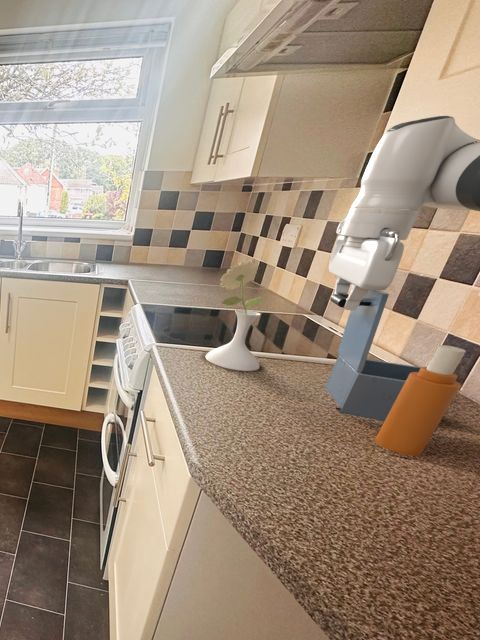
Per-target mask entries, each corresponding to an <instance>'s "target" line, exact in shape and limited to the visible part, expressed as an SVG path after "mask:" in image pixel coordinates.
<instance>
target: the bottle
mask: <svg viewBox="0 0 480 640" xmlns="http://www.w3.org/2000/svg"><path fill="white" fill-rule="evenodd" d="M465 353H466V350H465V349H463V348H460V347H457V346H452V345H444V344H441V345H438V346H437V348H436V350H435V352H434V354H433V355H432V357H431V359H430V361H429V363H428V365H427V366H420V367H421V368H420V370H419V372H411V373H410V374H409V376H408V378H407V380H406V382H405V384H404V386H403V387H402V389H401V391H400V393H399V395H398V397H397V399H396V401H395V403H394V405H393V406H392V408H391V410H390V412H389V414H388V416H387V418H386V420H385V421H383V424H382V425H381V426H380V429H379V431H378V433H377V435H376V437H375V439H374V441H375V442H376V443H377V444H378V445H379V446H381V447H382V448H385V449H387V450H389V451H391V452H394V453H397V454H401V455H405V456H410V457H411V456H412V457H419V456H421V455H422V453H423V452H424V450H425V448H426V446H427V445H428V443H429V441H430V440H431V438H432V436H433V434H434V433H435V431H436V430H437V428H438V426H439V425H440V423H441V421H442V419H443V417H444V416H445V414H446V413H447V411H448V409H449V407H450V406H451V404H452V402H453V400H454V399H455V397H456V396H457V394H458V392H459V391H460V389H461V387H462V383H461V382H459V381H457V379H458V376H459V375H458V374H457V373H454V372H455V371H456V370H457V367H458V366H459V364H460V362H461V361H462V358H463V357H464V355H465ZM392 456H393V457H396V458H399V459H405V460H409V458H408V457H404V456H399V455H394V454H392ZM410 460H411V461H412V460H414V459H413V458H410Z"/></svg>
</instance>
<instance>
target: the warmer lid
mask: <svg viewBox="0 0 480 640" xmlns="http://www.w3.org/2000/svg"><path fill="white" fill-rule="evenodd" d="M389 296H390V294H389V293H388V292H385V291H384V290H372V289H370V290H369V292H368V294H367V295H366V296H365V297H364V298H363V299H362V301H361V302H360V304H359V306H358V308H357V310H354V311H353V310H349V311H350V312H349V315H348V317H347V320H346V323H345V327H344V330H343V333H342V336H341V340H340V343H339V346H338V349H337V352H336V353H337V354H338V356H339V355H340V356H341V357H342V358H343V359H344V360H345V361H346V362H347V363H349V364H350V365H351V366H352V367H353V368H354V369H355V370H356V371H357V372H362V371H363V368H364V365H365V362H366V359H368V356H369V353H370V350H371V347H372V345H373V342H374V339H375V336H376V333H377V330H378V327H379V324H380V321H381V319H382V315H383V312H384V310H385V307H386V304H387V301H388V299H389ZM346 298H348V297H343V296H341V295H339V294H334V293H333V294H332V295H331V296H330V299H329V300H330V301H331V302H332V303H333V304H335V305H336V306H338V307H339V308H343V304H344V301H345V299H346ZM343 309H344V308H343Z"/></svg>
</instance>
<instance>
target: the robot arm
mask: <svg viewBox="0 0 480 640" xmlns="http://www.w3.org/2000/svg"><path fill="white" fill-rule="evenodd" d="M477 141H480V139H478V138H475V137H474V136H471V135H470V134H468V133H467V132H465V131H463V130H462V129H461V128H460V127H459V126H458V124H457V123H456V120H455V117H454V116H449V115H438V116H432V117H431V116H430V117H425V118H420V119H415V120H410V121H405V122H401V123H397V124H395V125H393V126H391V127H390V128H389V129H387V131H385V133H384V134H383V135H382V137H381V138H380V139H379V141H378V143H377V144H376V146H375V148H374V150H373V152H372V154H371V155H370V158H369V161H368V162H367V163H368V164H367V165H366V167H365V170H364V172H363V175H362V178H361V180H360V190H359V193H358V195H357V196H356V198H355V200H354V201H353V202H352V204H351V206H350V208H349V211H348V213H347V215H346V217H345V218H344V219H343V220H341V221H340V222H339V224H338V226H337V228H336V231H335V232H336V235H338V236H337V237H336V239H335V243H334V246H333V249H332V252H331V256H330V258H329V262H328V273H329V274H331V275H333V276H335V277H336V280H335V287H334V293H333V295H334V294H339V295H341V296H343V297H348V298H346V299H345V301H344V304H343V309H344V310H346V311H351V310H353V311H354V310H357V308H358V306H359V304H360V302H361V301H362V299H363V298H364V297H365V296H366V295H367V294H368V292H369V290H370V289H372V290H381V291H386V290H387V289H388V288H389V287H390V286H391V284H392V283H393V281H394V278H395V276H396V274H397V271H398V269H399V266H400V263H401V260H402V257H403V255H404V251H405V245H404V243H403V242H402V241H406V240H407V239H408V237H409V235H410V233H411V231H412V229H413V226H414V224H415V222H416V220H417V217H418V215H419V213H420V211H421V209H422V206H424V207H427V208H431V209H443V210H456V211H457V210H458V211H459V210H460V211H475V212H480V142H477ZM474 142H476V143H474ZM350 287H351V288H350ZM349 290H351V291H350V293H349Z"/></svg>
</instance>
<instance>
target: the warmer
mask: <svg viewBox="0 0 480 640" xmlns="http://www.w3.org/2000/svg"><path fill="white" fill-rule="evenodd" d="M421 367H422V366H415V365H408V364H404V363H403V364H402V363H397V362H389V361H384V360H383V361H381V360H376V359H375V360H374V359H368V358H367V359H366V362H365V365H364V368H363V371H362V372H357V371H356V370H355V369H354V368H353V367H352V366H351V365H350V364H349V363H347V362H346V361H345V360H344V359H343V358H342V357H341V356H340V355H339V354H338V356H337V358H336V360H335V362H334V365H333V368H332V369H331V372H330V374H329V377H328V379H327V381H326V384H325V386H324V388H325V389H326V391H327V392H328V393H329V394H330V396H331V397H332V399H333V400H334V401H335V403H336V404H337V405H338V406H337V407H335V408H336V409H337V411H338V412H339V413H340V414H344V415H349V416H355V417H358V418H359V417H360V418H364V419H369V420H375V421H380V422H385V420H386V418H387V416H388V414H389V412H390V410H391V408H392V406H393V405H394V403H395V401H396V399H397V397H398V395H399V393H400V391H401V389H402V387H403V386H404V384H405V382H406V380H407V378H408V376H409V374H410V373H411V372H419V370H420V368H421Z"/></svg>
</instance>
